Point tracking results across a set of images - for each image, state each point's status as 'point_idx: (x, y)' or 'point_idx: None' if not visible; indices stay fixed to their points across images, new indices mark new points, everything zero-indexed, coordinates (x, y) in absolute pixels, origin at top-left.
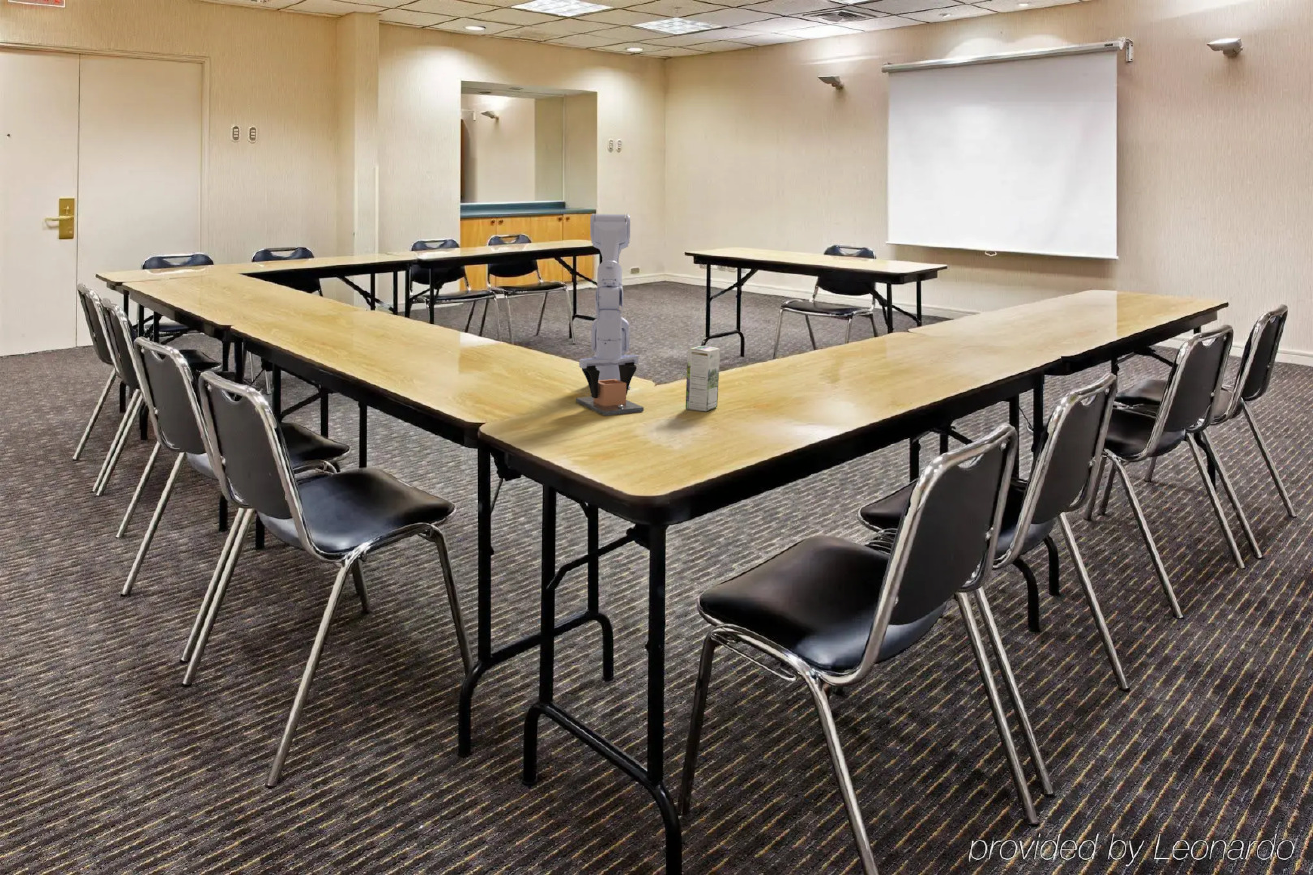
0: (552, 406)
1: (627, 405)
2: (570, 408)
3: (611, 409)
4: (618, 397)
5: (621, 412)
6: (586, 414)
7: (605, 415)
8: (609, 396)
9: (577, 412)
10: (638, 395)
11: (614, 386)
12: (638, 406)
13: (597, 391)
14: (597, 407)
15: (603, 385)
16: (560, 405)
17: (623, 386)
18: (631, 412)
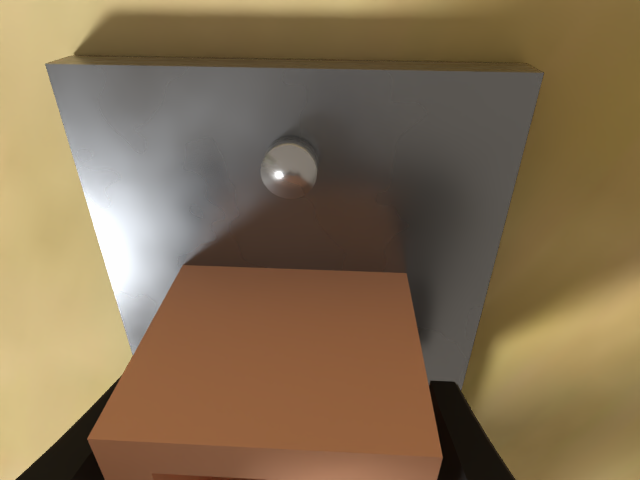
0: (618, 463)
1: (190, 212)
2: (567, 393)
3: (417, 132)
4: (247, 311)
5: (327, 62)
6: (620, 199)
7: (518, 63)
8: (351, 330)
9: (623, 287)
10: (18, 465)
11: (276, 420)
12: (94, 127)
13: (454, 430)
14: (483, 261)
15: (438, 459)
16: (559, 463)
17: (147, 403)
18: (209, 59)
